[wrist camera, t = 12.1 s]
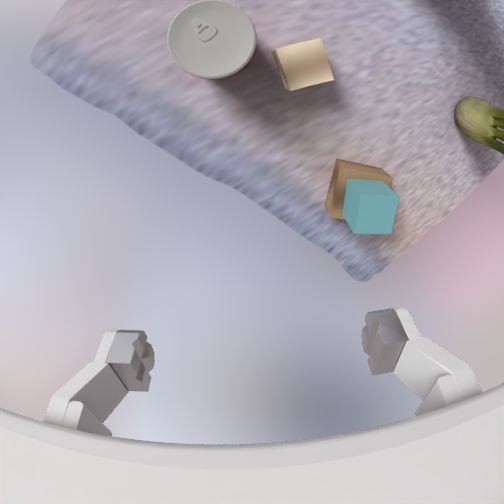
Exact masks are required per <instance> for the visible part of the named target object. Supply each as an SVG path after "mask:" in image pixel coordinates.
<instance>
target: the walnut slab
mask: <svg viewBox="0 0 504 504" xmlns="http://www.w3.org/2000/svg"><path fill="white" fill-rule="evenodd" d="M347 179H361V180H376V181H383V182H385V183H386V184H387V185H388V186H389V187H390V186H391V183H392V180H393V178H392V177H391V176H390V175H389V174H387V173H386V172H385V171H384V170H383V169H381V168H376V167H372V166H368V165H364V164H359V163H355V162H350V161H345V160H340V159H336V163H335V167H334V171H333V175H332V179H331V183H330V186H329V190H328V194H327V198H326V202H325V205H324V206H325V207H326V209H327V211H328V213H329V215H330V217H331V218H336V219H343V220H345V218H344V217H343V215H342V213H343V206H344V199H345V192H346V185H347Z"/></svg>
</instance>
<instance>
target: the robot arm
mask: <svg viewBox="0 0 504 504" xmlns="http://www.w3.org/2000/svg"><path fill="white" fill-rule="evenodd" d="M365 321H366V324H367V325H366V326H365V327H364V328H363V331H362V344H363V348H364V351H365V353H367V354H368V355H369V359H368V364H369V367H370V370H371V373H372V375H377V374H383V373H389V372H393V373H394V374H395V375H396V376H397V377H398V378H399V379H400V380H401V381H402V382H403V383H405V384H406V385H407V386H408V387H409V388H410V389H411V390H412V391H413V392H414V393H415V394H416V395H417V396H419V397H420V398H421V399H422V400H423V402H422V404H421V405H420V406H419V408H418V409H417V411H416V412H415V415H416V416H415V417H412V418H408V419H405V420H401V421H397V422H394V423H390V424H386V425H382V426H377V427H373V428H368V429H364V430H359V431H354V432H349V433H343V434H338V435H332V436H326V437H318V438H311V439H304V440H294V441H285V442H273V443H258V444H235V445H234V444H232V445H204V444H177V443H162V442H150V441H142V440H133V439H124V438H118V437H112V433H111V431H110V430H109V429H108V428H106V426H104V424H103V422H104V421H105V420H106V419H107V418H108V416H109V415H110V414H111V413H112V411H113V410H114V409H115V408H116V407H117V405H118V404H119V403H120V402H121V401H122V399H123V398H124V397H125V396H126V394H127V393H128V391H148V389H149V385H150V380H151V376H150V375H149V373H148V372H149V371H150V370H152V369H153V366H154V351H153V348H152V346H151V344H149V343H148V342H146V340H147V335H146V334H145V332H144V331H140V330H138V331H137V330H107V331H106V332H105V334H104V336H103V339H102V342H101V344H100V347H99V349H98V352H97V355H96V357H95V360H94V362H90V363H89V364H88V365H87V366H86V367H85V368H83V369H82V370H81V371H80V372H79V373H78V374H76V375H75V376H74V377H73V378H72V379H71V380H70V381H69V382H68V383H66V384H65V385H64V386H63V387H62V388H61V389H60V390H59V391H57V392H56V393H55V394H54V395H53V396H52V398H51V401H50V404H49V406H48V409H47V412H46V415H45V418H44V421H43V422H41V421H38V420H35V419H31V418H28V417H25V416H22V415H19V414H16V413H13V412H10V411H7V410H4V409H1V408H0V504H504V383H502V384H500V385H498V386H496V387H494V388H491V389H489V390H487V391H485V392H482V390H481V388H480V386H479V384H478V382H477V380H476V377H475V375H474V373H473V371H472V369H471V367H470V366H468V365H467V364H465V363H464V362H462V361H461V360H460V359H458V358H457V357H455V356H454V355H452V354H451V353H449V352H448V351H446V350H445V349H443V348H442V347H440V346H438V345H437V344H435V343H434V342H432V341H431V340H429V339H428V338H426V337H423V338H422V336H421V334H420V332H419V330H418V328H417V326H416V324H415V323H414V321H413V319H412V317H411V315H410V313H409V311H408V309H407V308H406V307H405V306H404V307H398V308H393V309H385V310H380V311H374V312H368V313H367V315H366V318H365Z"/></svg>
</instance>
